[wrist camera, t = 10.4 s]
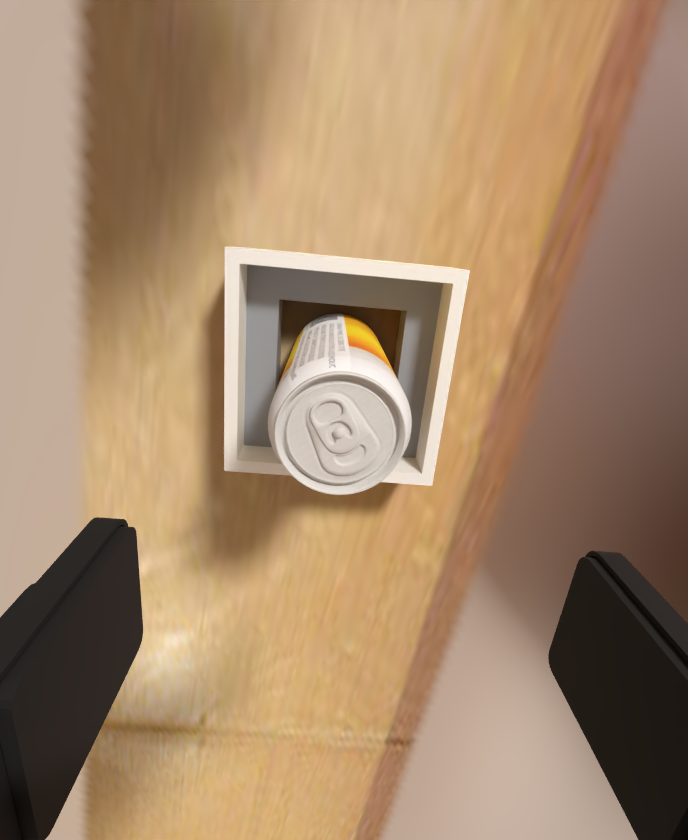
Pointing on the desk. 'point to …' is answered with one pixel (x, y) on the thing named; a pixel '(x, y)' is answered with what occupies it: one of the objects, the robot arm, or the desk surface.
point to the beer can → (339, 409)
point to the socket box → (342, 285)
